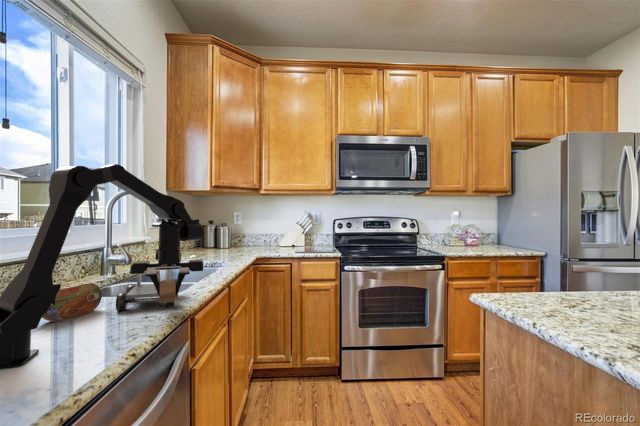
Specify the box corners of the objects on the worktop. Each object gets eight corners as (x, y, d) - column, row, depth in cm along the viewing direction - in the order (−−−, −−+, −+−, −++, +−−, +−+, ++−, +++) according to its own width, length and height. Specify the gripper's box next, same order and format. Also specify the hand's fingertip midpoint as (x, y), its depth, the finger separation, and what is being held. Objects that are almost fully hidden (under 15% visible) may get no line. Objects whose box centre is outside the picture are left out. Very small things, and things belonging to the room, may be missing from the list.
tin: (43, 326, 76) (45, 292, 76) (35, 324, 77) (36, 291, 77) (102, 309, 91) (102, 281, 91) (94, 308, 92) (95, 280, 92)
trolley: (173, 308, 92) (174, 273, 92) (115, 313, 87) (116, 275, 87) (178, 294, 108) (179, 265, 108) (129, 298, 103) (130, 266, 103)
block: (174, 301, 87) (175, 282, 87) (159, 302, 86) (159, 283, 86) (176, 297, 92) (177, 279, 92) (161, 298, 90) (162, 279, 90)
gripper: (204, 240, 100) (203, 287, 99) (139, 240, 93) (137, 291, 93) (203, 242, 89) (202, 296, 89) (130, 243, 83) (128, 301, 83)
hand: (168, 295), depth 89 cm, fingers closed on block, 4 cm apart
